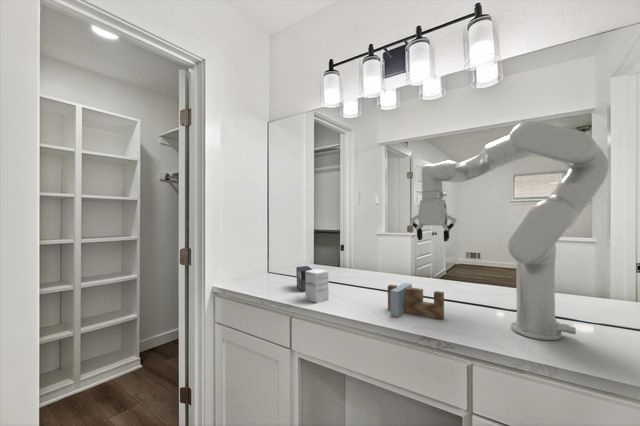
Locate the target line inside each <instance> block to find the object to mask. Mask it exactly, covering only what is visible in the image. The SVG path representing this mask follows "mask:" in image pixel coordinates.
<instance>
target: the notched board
mask: <svg viewBox="0 0 640 426" xmlns="http://www.w3.org/2000/svg"><path fill="white" fill-rule="evenodd" d="M396 287H398V285H395V284H389V285H387V310H390V311H391V298H390V291H391V290H392V289H394V288H396ZM404 313H406V314H411V315H416V316H421V317H427V318H432V319H437V320H441V321H442V320H444V318H445V292H444V291H438V290H435V291H434V292H433V302H428V301H424V288H417V287H412V288H411V287H408V288H406V300H404Z"/></svg>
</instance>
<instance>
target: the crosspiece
mask: <svg viewBox="0 0 640 426" xmlns="http://www.w3.org/2000/svg"><path fill="white" fill-rule="evenodd" d="M408 287H411V288H413V285H412V283H410V282H409V283H407V282H403V283H402V284H400V285H397V287H396V288H394V289H392V290H391V291H390V298H391V310H390V316H393V317H396V316H397V317H396V318H399V317H401V315H403V314H404V313H405V312H404V300H406V288H408Z"/></svg>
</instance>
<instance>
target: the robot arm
mask: <svg viewBox="0 0 640 426" xmlns="http://www.w3.org/2000/svg"><path fill="white" fill-rule="evenodd" d="M533 155H537V156H540V157H543V158H547V159H551V160H555V161H556V162H560V163H562V164H564V165H565V166H566V167H567V171H566V173H565V174H564V176H563V177H562V178H561V180H560V181H559V182H558V184H557V185H556V187H555V188H554V190H553V191H552V193H551V194H550V195H549V196H548V197H547V198H544V199H542V200H539V201H537V202H536V203H535V204H534V205H533V206H532V207H531V209H530V210H529V211H528V212H527V214H526V216H525V217H524V218H523V220H522V221H521V222H520V223H519V225H518V226H517V228H516V229H515V231H514V232H513V234H512V235H511V237H510V239H509V241H508V244H507V248H508V249H507V250H508V252H509V255H510V256H511V257H512V258H513V259H514V260H515V261H516V269H515V270H516V272H515V273H516V278H515V279H516V280H515V281H516V282H515V283H516V286H515V287H516V320H515V321H513V322H511V323H510V328H511V330H512V331H514V332H515V333H517V334H519V335H521V336H525V337H528V338H531V339H535V340H544V341H558V340H560V339H562V338H563V333H567V334H571V335H576V334H577V331H576V330H577V329H576V327H574V326H570V324H567V323H560V322H558V321H557V318H556V303H555V302H556V298H555V297H556V296H555V295H556V293H555V292H556V291H555V289H556V287H555V286H556V285H555V283H556V279H555V278H556V277H555V275H556V273H555V272H556V268H555V267H556V253H557V252H556V251H557V249H556V248H557V247H556V243H557V242H559V239H561V237H562V236H563V235H564V233H565V232H566V231H567V230H568V229H569V228H571V227H572V226H574V224H575V223H576V222H577V220H578V218H579V217H580V215H581V214H582V213H583V211H584V210H585V209H586V207H587V206H588V204H589V203H590V202H591V201H592V200H593V198H594V196H595V194H597V192H598V191H599V190H600V188H601V187H602V185H603V184H604V183H605V181H606V178H607V176H608V171H609V161H608V157H607V156H606V153H605V152H604V151H603V149H602V148H601V147H600V146H599V145H598V144H597V143H596V141H595V140H594V138H593V137H592V136H591V135H590V134H588V133H587V132H585V131H581V130H577V129H574V128H573V129H572V128H568V127H564V126H560V125H554V124H550V123H545V122H541V121H536V120H526V121H523V122H519V123H518V124H517V125H515V126H514V127H513V129H512V130H511V131H510V133H509V134H508V135H505V136H503V137H501V138H499V139H496V140H493V141H492V142H489V143H487V144H486V145H485V146H484V148H483V149H482V151H480V153H479V154H477V155H475V156H474V157H472V158H469V159H467V160H464V161H462V162H458V161H454V160H445V161H441V162H438V163H430V164H424V165H423V166H422V167H421V200H420V202H419V205H418V206H419V207H418V214H417V215H415V216H414V217H411V218H410V219H409V221H410V223H411V225H412V227H413V228H415V230H416V238H417V240H418V241H422V240H423V229H422V228H423V227H424V226H438V227H439V226H441V227H442V228H443V229H444V230H443V242H448V241H449V239H450V231H451V229H452V228H454V226H455V224H456V222H457V221H458V219H457V218H456V217H453V216H451V215H450V214H448V210H447V208H448V207H447V203H446V199H444V197H447V192H444V191H443V182H449V183H456V184H458V183H459V184H460V183H463V182H468V181H471V180H473V179H476V178H478V177H481V176H483V175H485V174H487V173H489V172H491V171H494V170H495V169H496V168H499V167H502V166H504V165H508V164H510V163H513V162H515V161H519V160H521V159H524V158H526V157H530V156H533ZM416 220H418V224H417V222H416ZM448 220H450V221H451V222H450V224H448ZM562 332H563V333H562Z"/></svg>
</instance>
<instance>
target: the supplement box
mask: <svg viewBox="0 0 640 426" xmlns="http://www.w3.org/2000/svg"><path fill="white" fill-rule="evenodd" d="M305 273H306V292H305V301H310V302H312V303H315V304H319V303H318V302H320V303H323V302H326V300H327V301H329V271H328V270H325V269H320V268H319V269H318V268H315V269H313V270H308V271H305ZM322 301H323V302H322Z"/></svg>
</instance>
